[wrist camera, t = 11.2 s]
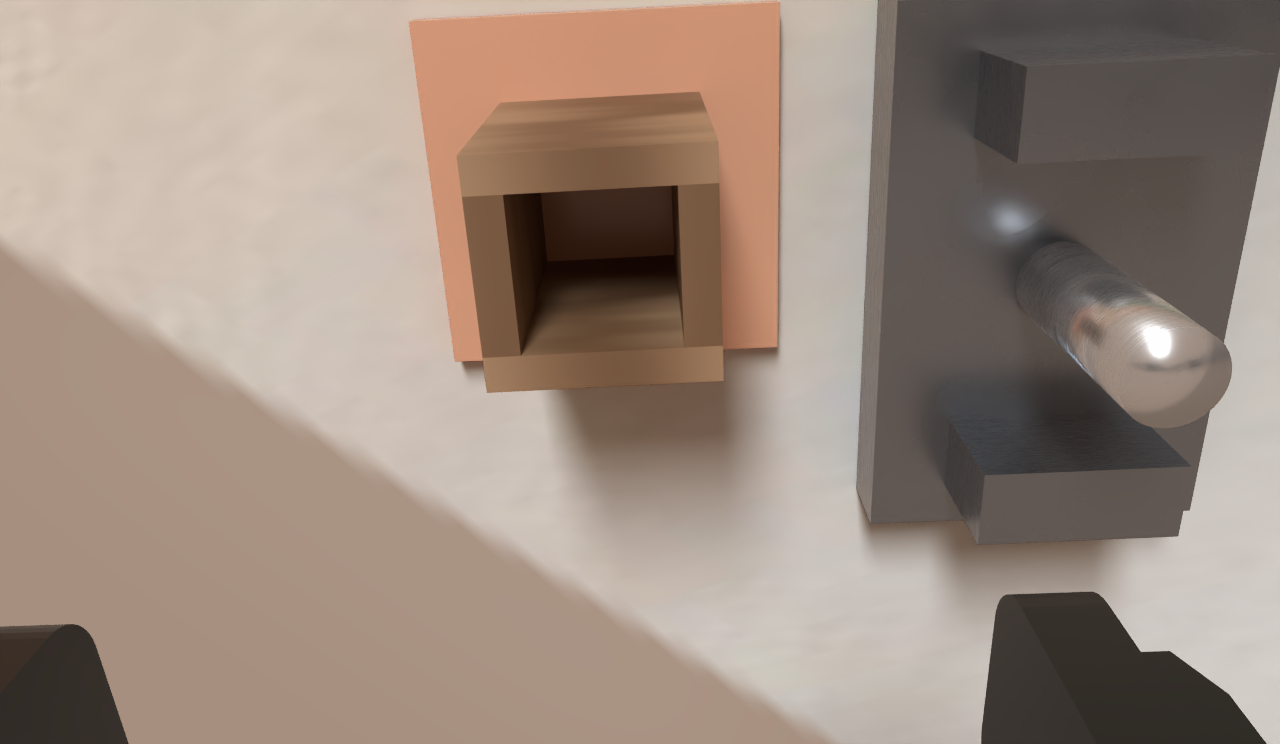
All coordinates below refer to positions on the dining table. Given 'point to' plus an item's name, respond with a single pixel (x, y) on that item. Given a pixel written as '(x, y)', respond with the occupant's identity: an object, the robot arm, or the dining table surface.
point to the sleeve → (594, 288)
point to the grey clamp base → (1055, 257)
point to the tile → (602, 67)
